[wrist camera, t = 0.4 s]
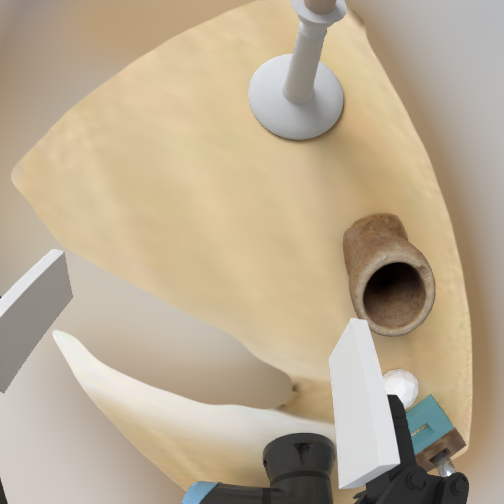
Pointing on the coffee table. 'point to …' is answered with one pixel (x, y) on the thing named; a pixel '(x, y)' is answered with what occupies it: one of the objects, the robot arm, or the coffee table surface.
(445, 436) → the brown rectangular frame
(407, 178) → the coffee table surface
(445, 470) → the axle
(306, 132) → the candlestick
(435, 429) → the seat block
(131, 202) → the coffee table surface
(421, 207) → the coffee table surface
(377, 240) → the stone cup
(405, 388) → the geometric ball
